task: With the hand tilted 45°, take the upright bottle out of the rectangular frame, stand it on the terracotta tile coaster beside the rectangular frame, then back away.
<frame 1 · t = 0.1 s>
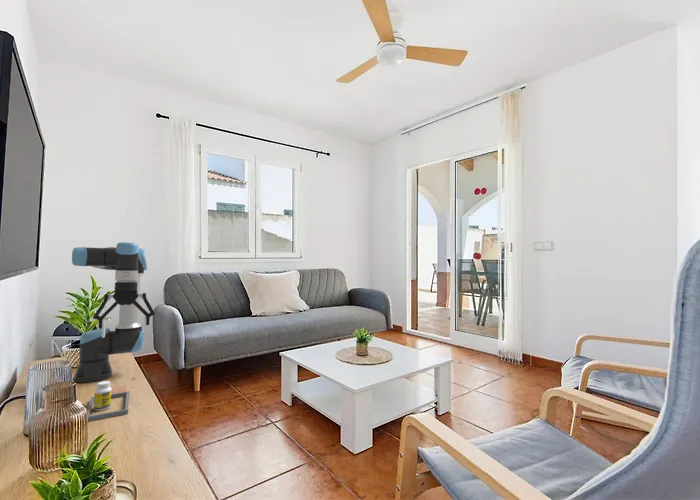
hand: (124, 335, 133), 28 cm above the table, tool pointing down, fingers open, 13 cm apart
coaster: (111, 392, 148), on the table
rectangular frame: (108, 407, 132), on the table
supplement bottle: (102, 408, 131), resting in rectangular frame
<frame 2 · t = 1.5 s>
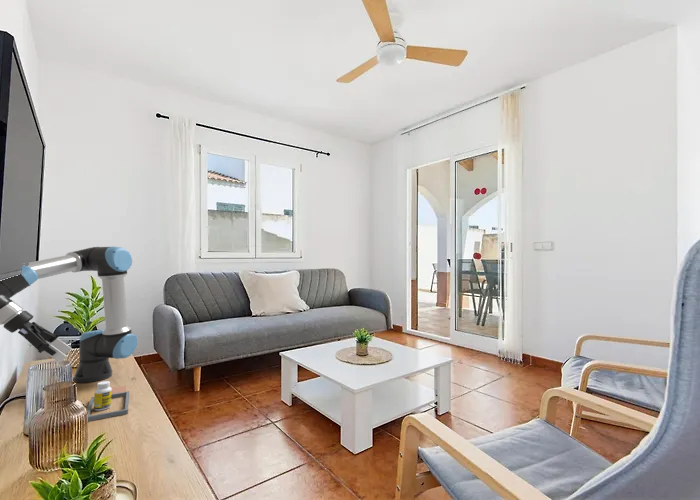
hand: (66, 355, 126), 22 cm above the table, tool tilted 45°, fingers open, 13 cm apart
nothing on the table moved.
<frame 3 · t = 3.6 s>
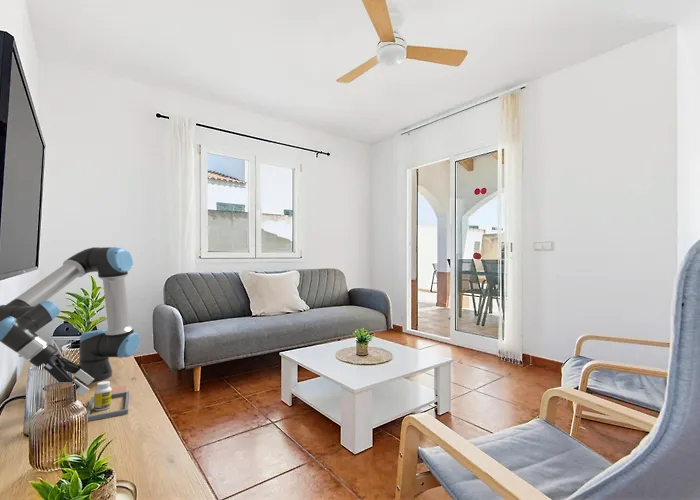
hand: (88, 387, 129), 9 cm above the table, tool tilted 45°, fingers open, 13 cm apart
nothing on the table moved.
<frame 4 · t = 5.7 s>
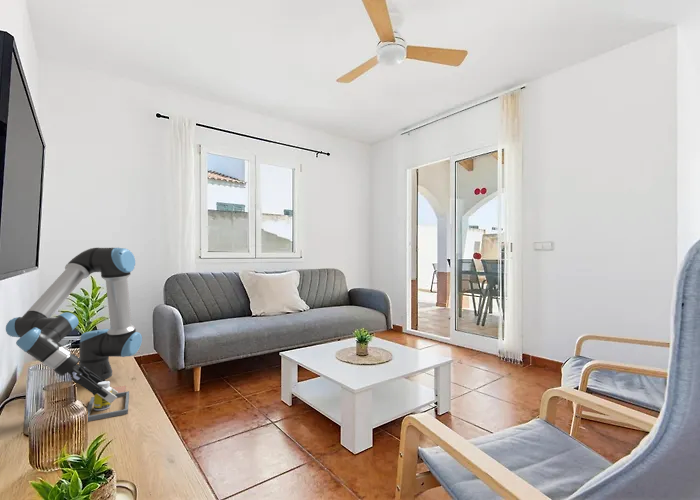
hand: (114, 397, 134), 3 cm above the table, tool tilted 45°, fingers closed on supplement bottle, 5 cm apart
supplement bottle: (102, 408, 131), resting in rectangular frame, touching gripper
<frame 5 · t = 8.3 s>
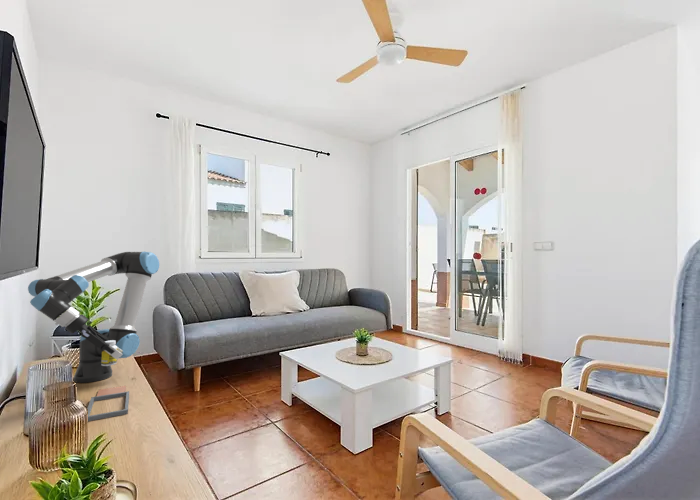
hand: (120, 355, 146), 17 cm above the table, tool tilted 45°, fingers closed on supplement bottle, 5 cm apart
supplement bottle: (109, 364, 144), point 13 cm above the table, touching gripper
when the fingers open (5 cm above the table, at t = 11.1 s): supplement bottle drops 1 cm, resting on coaster.
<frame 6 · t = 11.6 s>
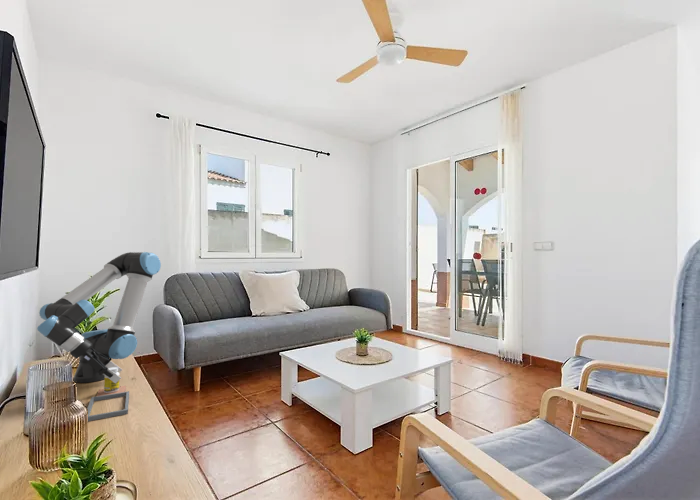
hand: (119, 376, 149), 7 cm above the table, tool tilted 45°, fingers open, 12 cm apart
supplement bottle: (111, 391, 148), resting on coaster
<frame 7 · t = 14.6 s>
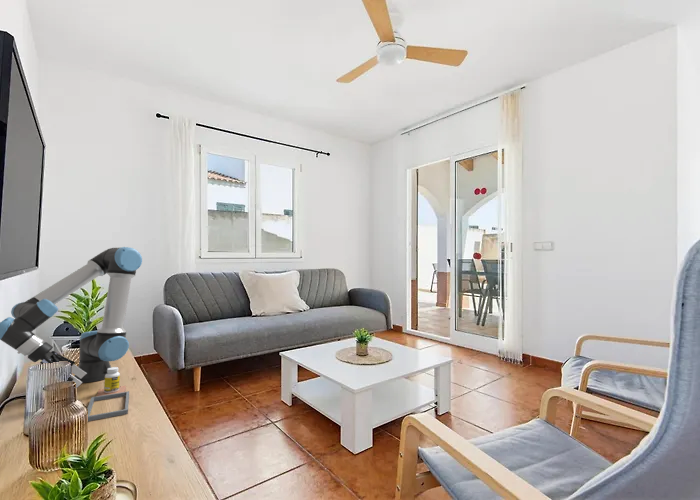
hand: (81, 380, 142), 7 cm above the table, tool tilted 45°, fingers open, 13 cm apart
nothing on the table moved.
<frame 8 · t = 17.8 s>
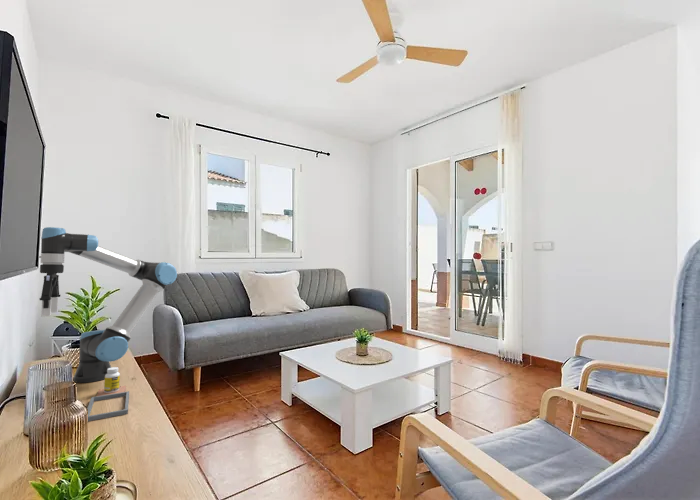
hand: (49, 314, 142), 35 cm above the table, tool pointing down, fingers open, 13 cm apart
nothing on the table moved.
at the end: supplement bottle inside the target area on the coaster (0.1 cm from its centre), point 0.4 cm above the coaster's base; supplement bottle tilted 0°; the gripper is holding nothing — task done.
